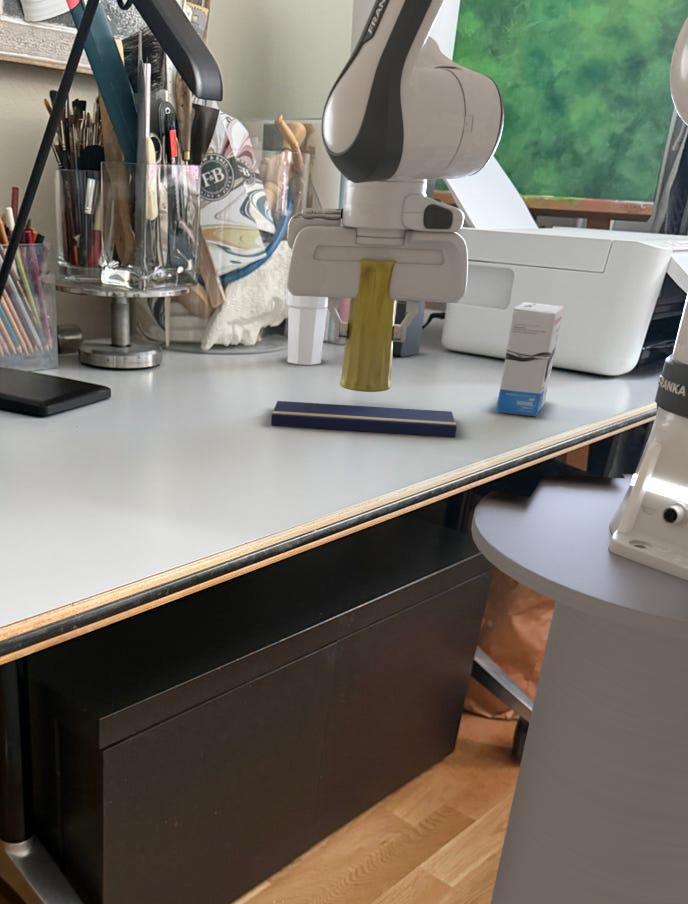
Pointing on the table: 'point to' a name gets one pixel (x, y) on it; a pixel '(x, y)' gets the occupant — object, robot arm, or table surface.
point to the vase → (370, 331)
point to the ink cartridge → (409, 330)
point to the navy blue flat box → (364, 418)
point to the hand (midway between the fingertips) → (369, 339)
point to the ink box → (529, 358)
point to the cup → (305, 328)
